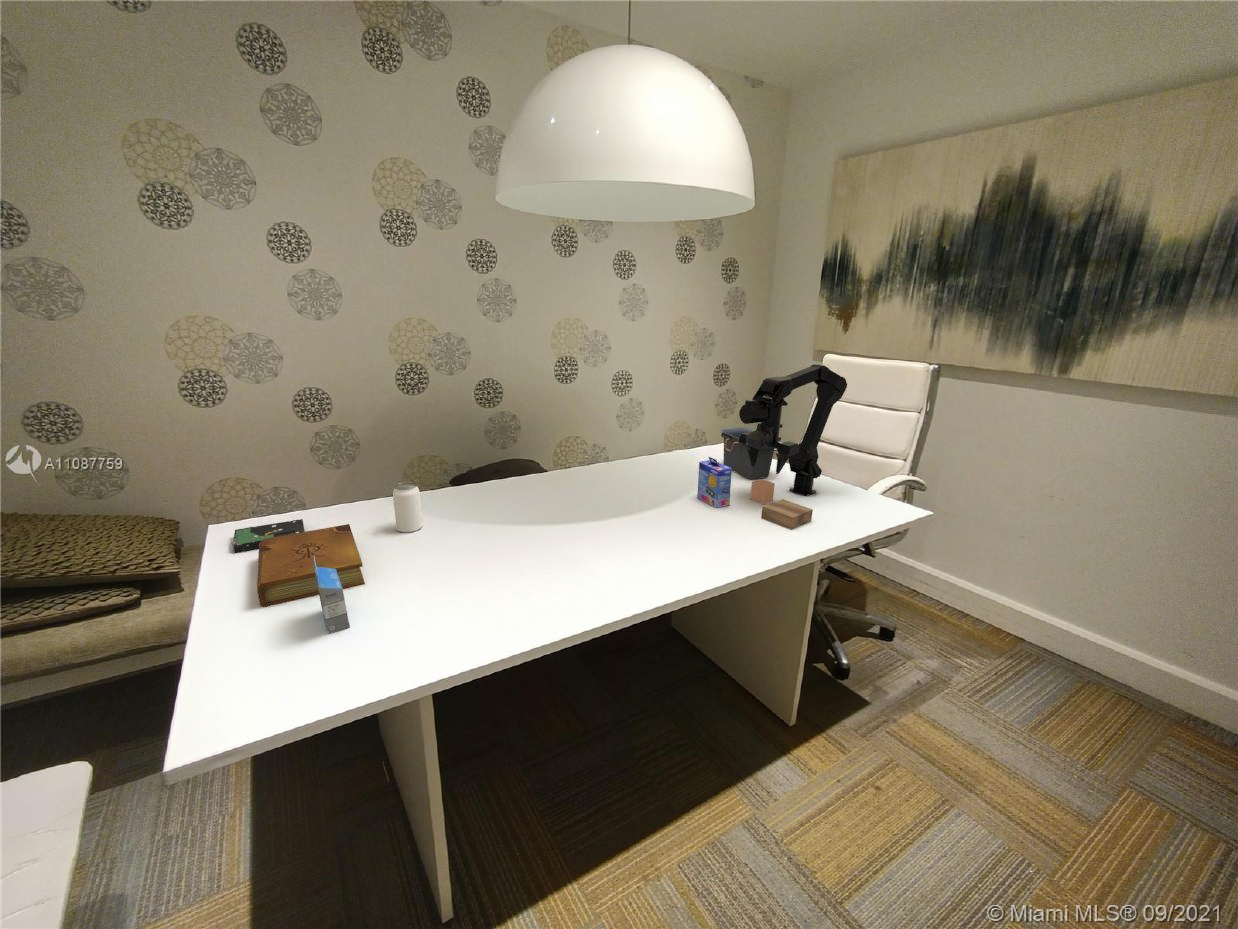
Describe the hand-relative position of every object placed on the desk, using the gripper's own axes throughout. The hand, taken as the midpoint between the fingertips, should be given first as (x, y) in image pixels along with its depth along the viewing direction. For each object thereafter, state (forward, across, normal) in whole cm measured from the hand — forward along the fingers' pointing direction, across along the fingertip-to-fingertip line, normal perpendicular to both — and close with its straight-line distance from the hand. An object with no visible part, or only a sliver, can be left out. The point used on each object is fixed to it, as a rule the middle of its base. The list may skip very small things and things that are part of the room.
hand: (765, 469), depth 166 cm
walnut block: (+10, +14, -7) cm, 19 cm away
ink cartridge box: (+10, -8, -14) cm, 19 cm away
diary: (+10, -30, -121) cm, 125 cm away
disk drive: (+10, -54, -126) cm, 137 cm away
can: (+10, -41, -96) cm, 105 cm away
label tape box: (+10, -7, -121) cm, 122 cm away
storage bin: (+10, -22, +18) cm, 30 cm away
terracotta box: (+10, 0, 0) cm, 10 cm away
